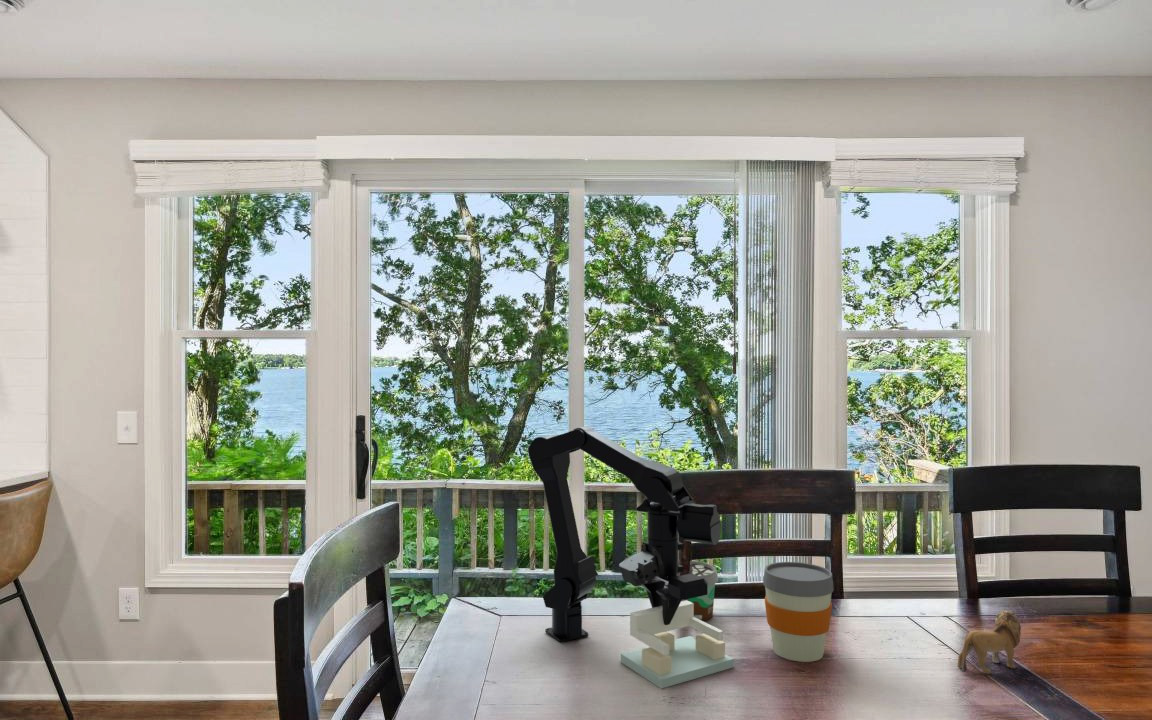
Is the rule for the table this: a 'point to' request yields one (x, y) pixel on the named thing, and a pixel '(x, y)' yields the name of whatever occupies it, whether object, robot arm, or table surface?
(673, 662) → the display stand
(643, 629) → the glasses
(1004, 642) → the lion figurine
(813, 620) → the reusable coffee cup
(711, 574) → the food container
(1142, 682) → the table surface
